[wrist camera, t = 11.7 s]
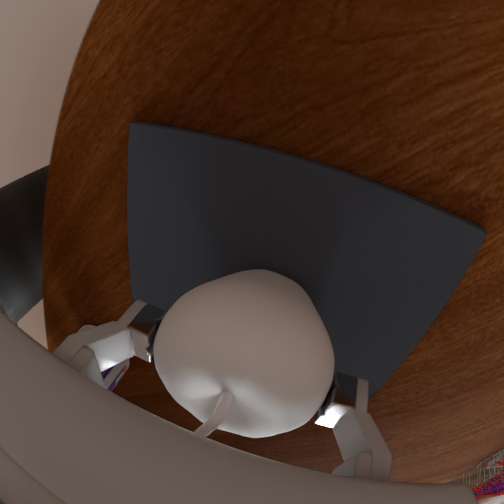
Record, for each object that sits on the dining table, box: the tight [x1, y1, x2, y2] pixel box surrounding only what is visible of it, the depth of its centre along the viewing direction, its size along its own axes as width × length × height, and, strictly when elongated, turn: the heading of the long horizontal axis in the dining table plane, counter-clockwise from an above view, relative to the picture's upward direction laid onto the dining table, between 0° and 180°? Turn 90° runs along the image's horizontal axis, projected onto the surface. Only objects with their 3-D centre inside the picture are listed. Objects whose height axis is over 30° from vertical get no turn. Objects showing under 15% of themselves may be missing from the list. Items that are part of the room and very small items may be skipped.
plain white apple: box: [153, 269, 335, 438], centre depth 11 cm, size 7×7×8 cm
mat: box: [127, 121, 487, 401], centre depth 15 cm, size 16×14×1 cm
